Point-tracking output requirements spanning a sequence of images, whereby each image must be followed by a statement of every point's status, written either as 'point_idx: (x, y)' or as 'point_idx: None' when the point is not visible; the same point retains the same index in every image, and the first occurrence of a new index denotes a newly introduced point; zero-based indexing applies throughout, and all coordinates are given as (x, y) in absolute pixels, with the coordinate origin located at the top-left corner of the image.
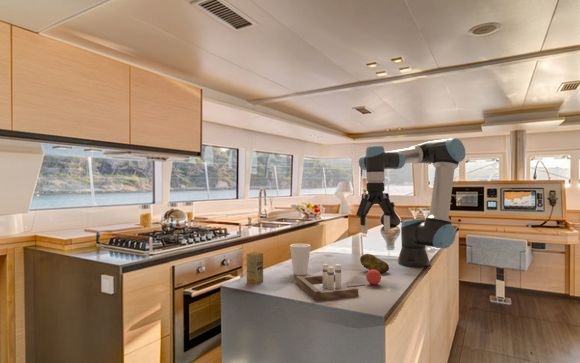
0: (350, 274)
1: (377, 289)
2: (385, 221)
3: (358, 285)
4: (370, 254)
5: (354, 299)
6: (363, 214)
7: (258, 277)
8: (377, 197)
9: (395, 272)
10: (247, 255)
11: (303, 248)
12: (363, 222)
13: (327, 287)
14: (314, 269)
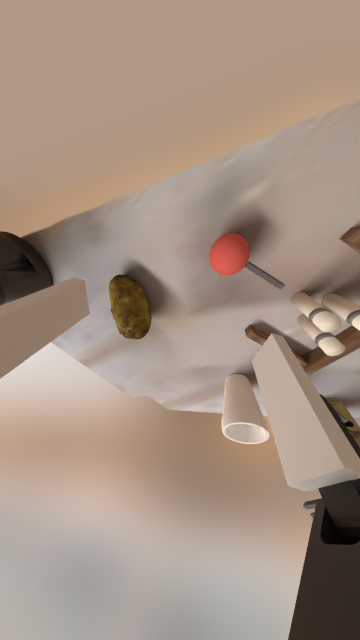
0: (188, 324)
1: (266, 219)
2: (36, 335)
3: (262, 272)
4: (122, 326)
5: None
6: (323, 542)
7: (338, 408)
8: None
9: (107, 263)
10: None
11: (260, 423)
12: (337, 421)
13: None
14: (201, 375)
